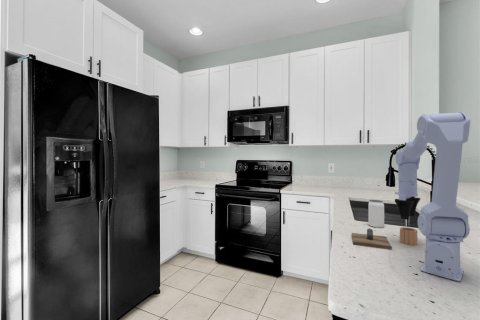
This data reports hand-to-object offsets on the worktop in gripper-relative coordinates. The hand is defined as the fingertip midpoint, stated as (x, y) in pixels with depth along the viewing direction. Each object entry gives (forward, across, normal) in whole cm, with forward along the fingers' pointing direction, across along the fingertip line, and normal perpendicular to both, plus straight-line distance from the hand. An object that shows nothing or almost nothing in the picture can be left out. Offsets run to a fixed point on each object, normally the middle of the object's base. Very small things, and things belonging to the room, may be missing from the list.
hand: (407, 217), depth 86 cm
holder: (+9, +10, -10) cm, 17 cm away
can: (+10, -16, -16) cm, 24 cm away
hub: (+9, 0, 0) cm, 9 cm away
